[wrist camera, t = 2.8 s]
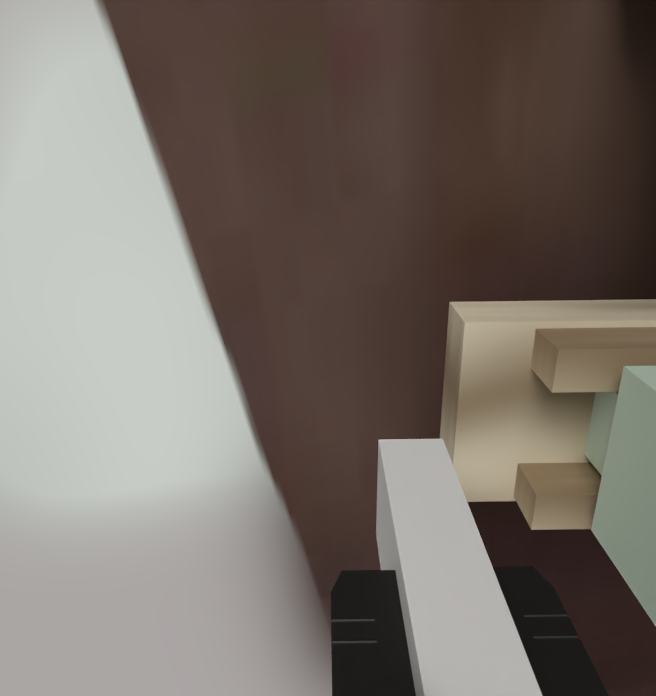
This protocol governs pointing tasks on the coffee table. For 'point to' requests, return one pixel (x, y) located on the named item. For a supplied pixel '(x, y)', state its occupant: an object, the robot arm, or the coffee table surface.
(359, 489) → the coffee table surface
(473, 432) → the beam
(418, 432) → the coffee table surface
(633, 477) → the block
